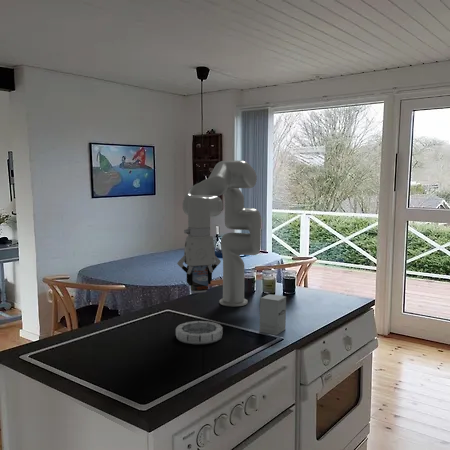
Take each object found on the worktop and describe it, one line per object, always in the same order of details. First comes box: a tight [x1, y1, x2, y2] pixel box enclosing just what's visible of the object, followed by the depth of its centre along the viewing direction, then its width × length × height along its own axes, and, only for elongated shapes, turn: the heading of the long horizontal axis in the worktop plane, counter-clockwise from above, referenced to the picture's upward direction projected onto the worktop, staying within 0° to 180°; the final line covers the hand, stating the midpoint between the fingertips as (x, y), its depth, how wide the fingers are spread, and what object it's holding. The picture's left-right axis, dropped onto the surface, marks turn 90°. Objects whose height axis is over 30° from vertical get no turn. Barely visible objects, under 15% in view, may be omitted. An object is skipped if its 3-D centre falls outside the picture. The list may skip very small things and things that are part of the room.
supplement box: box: [259, 294, 287, 336], centre depth 166 cm, size 7×7×13 cm
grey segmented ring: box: [175, 320, 224, 345], centre depth 160 cm, size 16×16×3 cm
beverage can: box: [190, 266, 209, 294], centre depth 158 cm, size 6×7×12 cm
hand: (199, 283), depth 159 cm, fingers closed on beverage can, 6 cm apart
